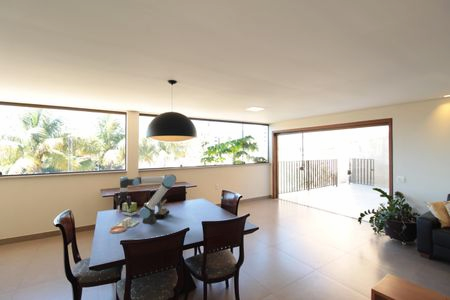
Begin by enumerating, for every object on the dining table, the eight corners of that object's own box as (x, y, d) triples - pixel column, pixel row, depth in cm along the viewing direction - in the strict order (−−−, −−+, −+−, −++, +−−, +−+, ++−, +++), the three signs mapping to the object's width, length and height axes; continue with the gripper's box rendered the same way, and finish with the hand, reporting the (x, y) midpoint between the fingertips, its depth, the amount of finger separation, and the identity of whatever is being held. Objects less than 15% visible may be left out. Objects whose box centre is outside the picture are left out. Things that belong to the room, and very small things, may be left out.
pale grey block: (127, 224, 231) (127, 219, 231) (125, 226, 226) (125, 220, 226) (123, 224, 231) (123, 219, 231) (121, 226, 226) (121, 220, 226)
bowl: (128, 227, 223) (128, 225, 223) (121, 233, 208) (121, 231, 208) (115, 227, 224) (115, 225, 224) (106, 232, 209) (106, 230, 209)
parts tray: (138, 222, 239) (138, 221, 239) (132, 227, 224) (132, 226, 224) (121, 222, 240) (121, 221, 240) (113, 227, 225) (113, 225, 225)
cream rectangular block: (130, 222, 238) (130, 217, 238) (129, 224, 233) (129, 218, 233) (127, 222, 238) (127, 217, 238) (125, 224, 233) (125, 218, 233)
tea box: (122, 214, 270) (122, 203, 270) (128, 212, 279) (128, 201, 279) (130, 216, 264) (130, 204, 264) (136, 213, 273) (136, 202, 273)
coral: (163, 219, 251) (163, 201, 251) (146, 219, 252) (146, 201, 252) (169, 213, 276) (169, 196, 276) (154, 212, 277) (154, 196, 277)
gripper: (135, 190, 230) (135, 211, 230) (115, 190, 232) (115, 210, 232) (131, 192, 222) (131, 213, 222) (111, 191, 224) (111, 212, 224)
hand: (123, 211), depth 227 cm, fingers open, 10 cm apart
